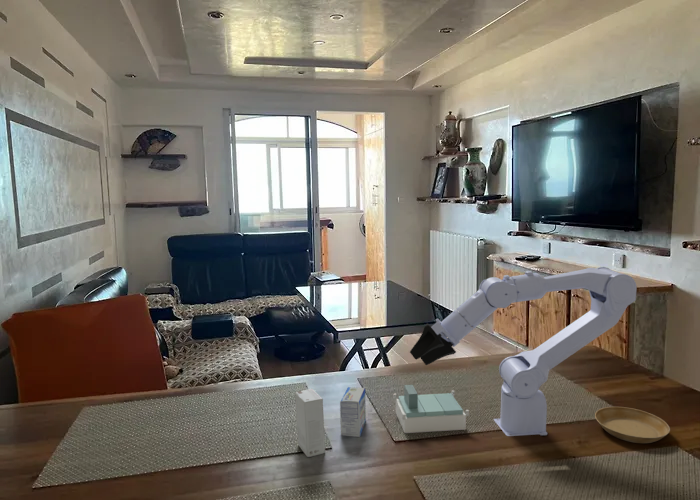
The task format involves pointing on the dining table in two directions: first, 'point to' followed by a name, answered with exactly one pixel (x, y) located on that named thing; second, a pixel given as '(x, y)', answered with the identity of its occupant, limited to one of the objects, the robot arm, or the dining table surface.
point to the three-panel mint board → (428, 403)
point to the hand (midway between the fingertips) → (418, 358)
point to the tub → (430, 421)
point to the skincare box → (310, 422)
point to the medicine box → (353, 412)
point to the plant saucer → (632, 424)
